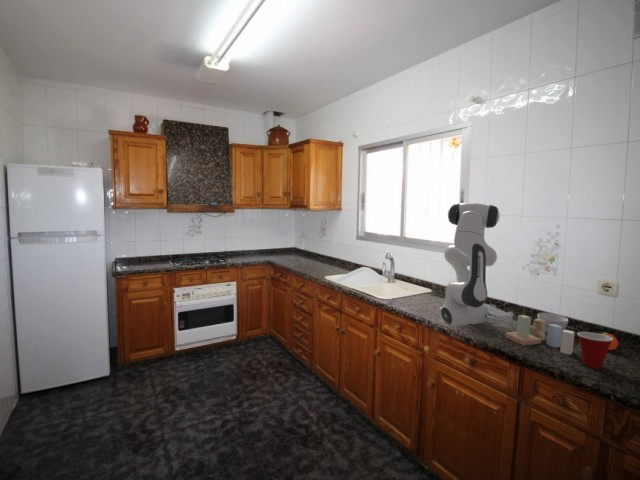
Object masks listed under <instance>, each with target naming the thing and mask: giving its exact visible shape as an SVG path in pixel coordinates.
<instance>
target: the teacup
mask: <svg viewBox="0 0 640 480" xmlns="http://www.w3.org/2000/svg"><path fill="white" fill-rule="evenodd" d="M537 319H541V320H544V321H546V327H545V334H546V333H547V334H548V324H557V325H559V326H561V327H562V331H563V330H564V329H565V330H566V328H567V326H568V324H569V319H568V318H566V317H565V316H563V315H560V314H554V313H550V312H538V313H537Z"/></svg>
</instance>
